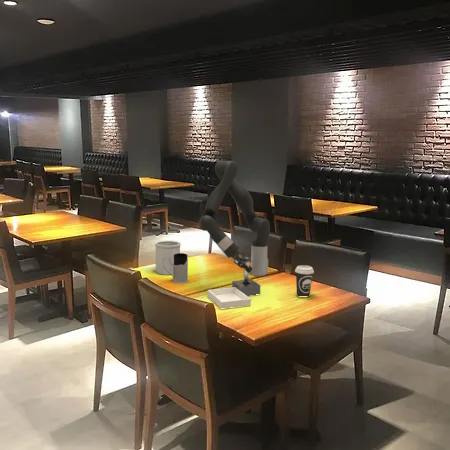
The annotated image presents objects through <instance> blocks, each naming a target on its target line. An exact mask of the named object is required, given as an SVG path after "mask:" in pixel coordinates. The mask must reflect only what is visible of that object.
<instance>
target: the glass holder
mask: <svg viewBox="0 0 450 450" xmlns="http://www.w3.org/2000/svg"><path fill="white" fill-rule="evenodd" d="M165 258H169V257H165ZM165 258H164V259H165ZM164 259H163V260H164ZM169 259H170V258H169ZM188 261H189V260H188V254H187V253H183V252H182V253H181V252H180V253H177V254H174V264H171V260H170V264H171V265H173V274H170V273H169V272H168V271H167V270H166V269H165V267H164V264H163V267H164V269H165V270H166V271H167V272H168V273H169V274H170V275H169V276H172V282H173V283H174V284H180V285H182V284H187V283H189V279H188V277H189V276H188V274H189V273H188V270H189V266H188V265H189V262H188Z"/></svg>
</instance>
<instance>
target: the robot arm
mask: <svg viewBox="0 0 450 450" xmlns="http://www.w3.org/2000/svg"><path fill="white" fill-rule="evenodd" d="M214 172H215V174H216V176H217V177H218V179H219V180H220V182H219V184H218V185H217V186H216V187H215V188H214V190H212V192H211V193H210V195H209V196H208V199H207V201H206V203H205V208H204V210H203V212H202V214H201V216H200V219H199V221H198V227H199V229H200V230H202V231H205V232H207V234H209V236H210V238H211V240H212V242H214V244H216V245H217V247H218V249H220V250H221V251H222V253H224V255H225V256H226V257H227V258H228V259H229V258H231V257H232V259H233V263H234V264H235V265H237V266H238V267H239V268H241V269H245V270H246V271H247V272H248V273H249V274H250V275H253V276H257V277H261V276H266V275H268V274H269V258H268V244H269V240H270V233H271V231H270V230H271V223H270V221H269V220H268V219H267V218H262V217H259V216H258V215H257V213H256V212H255V210H254V200H253V198H252V196H251V194H250V192H249V191H248V189H247V187H245V186H243V184H241V183H240V182H239V181H237V180H236V179H235V178H236V176H237V174H238V164H237V162H236V161H233V160H219V161H217V162H216V163H215V165H214ZM227 192H228V193H229V194H230V196H231V197H232V199H233V201H234V202H235V204H236V206H237V207H238V209H239V210H240V212H241V214H242V216H243V217H244V219H245V221H246V223H247V226H248V228H249V230H250V231H251V232H253V233H254V234H256V238H253V239H252V240H251V248H250V249H251V251H250V252H251V253H250V255H251V256H250V257H251V260H250V264H249V267H248V266H247V265H246V263H245V260H243V257H246V256H245V255H244V253H243V252H240V251H238V250H239V248H240V247H239V246H238V245H237V244H236V243H235V242H234V241H233V240H232V238H231V237H229V236H228V235H227V234H226V233H225V232H224V230H223V229H221V227H220V225H219V224H218V223H217V221H216V220H215V217H216V215H217V214H218V213H219V210H220V207H221V206H222V205H221V204H222V203H223V200H224V198H225V195H226V193H227Z"/></svg>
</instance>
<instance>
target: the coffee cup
mask: <svg viewBox="0 0 450 450" xmlns="http://www.w3.org/2000/svg"><path fill="white" fill-rule="evenodd" d="M294 272H295V277H296V278H295V280H296V282H295V283H296V285H295V286H296V296H297V295H298V296H309V295H310V296H311V288H312V281H313V275H314V273H315V271H314V268H313V267H312V266H311V265H304V264H303V265H297V266H296V268H295V270H294ZM298 296H297V297H298ZM310 296H309V297H310Z"/></svg>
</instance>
